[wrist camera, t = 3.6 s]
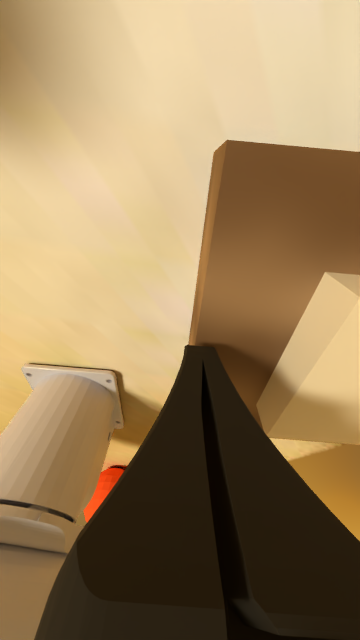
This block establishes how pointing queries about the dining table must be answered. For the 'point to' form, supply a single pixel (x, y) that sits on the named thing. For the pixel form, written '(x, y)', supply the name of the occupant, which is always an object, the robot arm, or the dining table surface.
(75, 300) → the dining table surface
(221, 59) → the dining table surface
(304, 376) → the tile
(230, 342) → the brown wooden block
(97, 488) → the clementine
